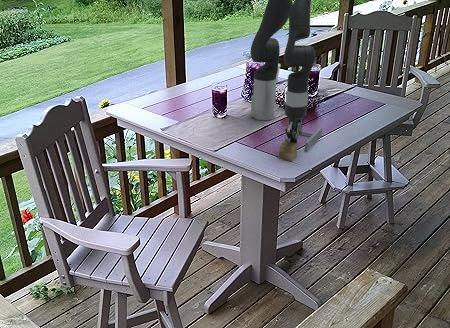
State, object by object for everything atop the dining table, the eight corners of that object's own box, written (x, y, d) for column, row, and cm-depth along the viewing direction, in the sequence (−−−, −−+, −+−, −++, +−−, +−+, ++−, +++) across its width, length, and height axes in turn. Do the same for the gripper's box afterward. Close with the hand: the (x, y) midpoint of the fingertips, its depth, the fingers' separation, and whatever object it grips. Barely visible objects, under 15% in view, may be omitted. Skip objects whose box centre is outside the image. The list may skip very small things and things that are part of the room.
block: (278, 158, 184) (279, 145, 182) (283, 153, 188) (284, 140, 186) (291, 161, 182) (292, 148, 180) (296, 156, 186) (297, 143, 184)
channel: (284, 146, 193) (284, 138, 192) (299, 132, 206) (300, 123, 204) (307, 151, 190) (307, 143, 188) (321, 136, 202) (322, 128, 201)
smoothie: (278, 85, 259) (280, 57, 252) (266, 84, 260) (267, 57, 254) (280, 81, 264) (281, 54, 258) (267, 80, 266) (269, 53, 259)
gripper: (293, 95, 187) (290, 138, 195) (279, 106, 177) (276, 152, 184) (312, 98, 184) (309, 142, 192) (299, 110, 173) (296, 156, 181)
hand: (293, 147), depth 188 cm, fingers closed
